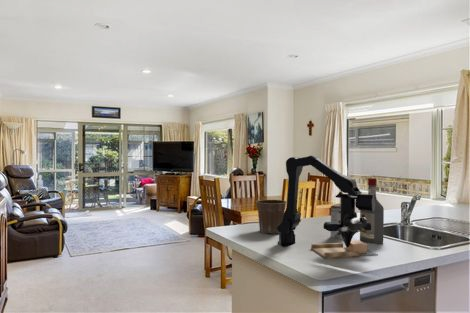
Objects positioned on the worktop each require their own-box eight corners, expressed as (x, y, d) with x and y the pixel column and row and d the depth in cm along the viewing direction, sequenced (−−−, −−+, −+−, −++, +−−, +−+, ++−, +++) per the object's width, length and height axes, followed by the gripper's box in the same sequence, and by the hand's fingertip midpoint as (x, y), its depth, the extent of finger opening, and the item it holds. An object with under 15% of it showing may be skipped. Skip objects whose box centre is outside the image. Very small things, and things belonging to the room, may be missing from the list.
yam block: (353, 253, 142) (353, 244, 142) (346, 249, 147) (346, 240, 147) (366, 252, 143) (367, 244, 143) (359, 248, 148) (359, 240, 148)
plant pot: (249, 231, 185) (249, 201, 185) (268, 227, 197) (269, 198, 197) (273, 237, 174) (273, 204, 174) (292, 232, 185) (292, 201, 185)
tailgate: (355, 257, 139) (355, 254, 139) (342, 249, 150) (342, 247, 150) (377, 256, 141) (377, 254, 141) (363, 249, 152) (363, 247, 152)
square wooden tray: (325, 261, 135) (325, 253, 135) (311, 251, 149) (311, 244, 149) (358, 259, 138) (358, 251, 138) (341, 249, 152) (342, 242, 151)
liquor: (372, 239, 171) (372, 177, 170) (386, 243, 162) (387, 179, 162) (357, 240, 167) (357, 178, 167) (370, 245, 159) (371, 179, 159)
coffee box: (337, 235, 178) (337, 203, 178) (349, 237, 174) (350, 205, 174) (329, 238, 171) (330, 205, 171) (342, 240, 167) (343, 207, 167)
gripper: (335, 212, 135) (334, 253, 135) (379, 211, 138) (379, 251, 138) (323, 208, 146) (322, 245, 146) (364, 207, 149) (364, 244, 149)
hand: (347, 246), depth 144 cm, fingers closed
